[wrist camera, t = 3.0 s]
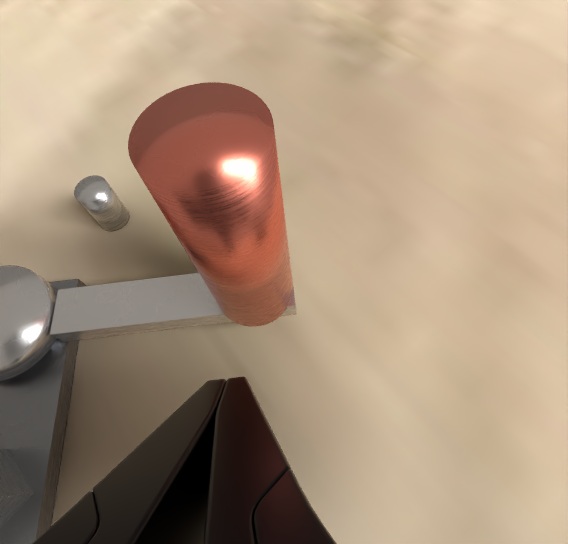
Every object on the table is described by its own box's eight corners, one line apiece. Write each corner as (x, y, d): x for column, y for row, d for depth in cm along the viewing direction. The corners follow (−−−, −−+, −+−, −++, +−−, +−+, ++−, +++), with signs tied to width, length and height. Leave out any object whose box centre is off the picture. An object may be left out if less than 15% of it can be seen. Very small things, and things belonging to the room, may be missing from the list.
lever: (-156, 399, 16) (-669, 330, 8) (-114, 294, 18) (-477, 150, 10) (300, 346, 16) (284, 212, 7) (288, 245, 18) (264, 53, 9)
